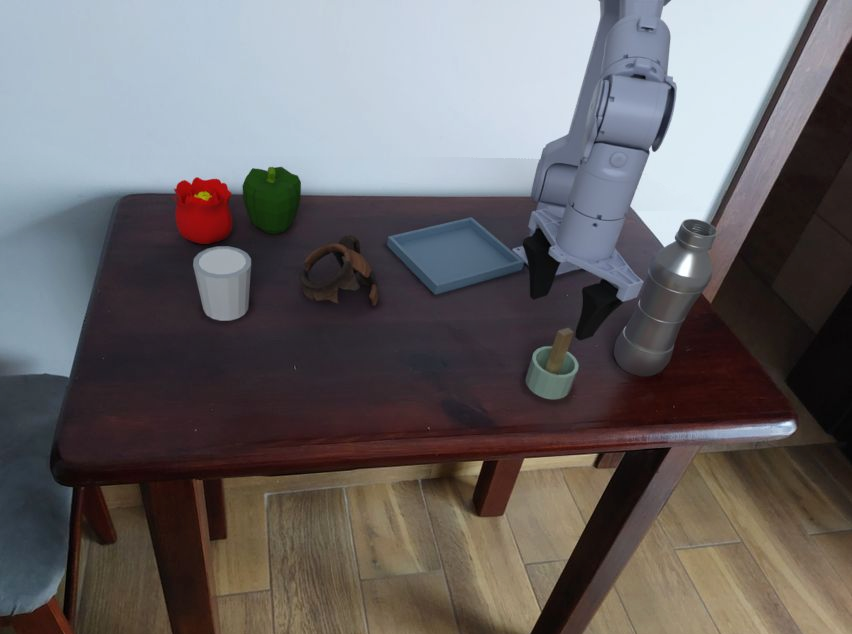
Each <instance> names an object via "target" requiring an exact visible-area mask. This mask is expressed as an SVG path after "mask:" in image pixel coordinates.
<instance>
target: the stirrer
mask: <svg viewBox="0 0 852 634" xmlns="http://www.w3.org/2000/svg"><path fill="white" fill-rule="evenodd" d="M574 333H575V332H574V331H573V330H572V329H571V328H570V327H565V328H562V329H559V330H557V332H556V335H555V338H554V341H553V344H552V346H553V347H552V350H551V353H550V355H549V358H548V361H547V364H546V367H545V370H546V371H547V372H549V373H552V374H557V375H559V372H560V370H561V367H562V364H563V361H564V359H565V356H566V353H567V351H568V350H569V348H570V344H571V342H572V339H573V336H574V335H575V334H574Z"/></svg>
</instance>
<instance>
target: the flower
mask: <svg viewBox="0 0 852 634" xmlns="http://www.w3.org/2000/svg"><path fill="white" fill-rule="evenodd" d="M173 191H174V192H175V195H173V199H174V200H175V203H176V205H175V212H174V213H175V214H174V215H175V221H176V226H177V230H178V232H179V234H180V235H181V236H182V237H183V238H184V239H186V240H187V241H189V242H192V243H195V244H200V245H211V244H214V243H217V242H221V241H224V240H225V239H227V238H228V237H229V236H230V234H231V233H232V230H233V217H232V212H231V209H230V206H229V205H230V199H231V198H232V194H233V193H232V191H230V190H229V188H228V185H227V183H225V182H221V179H218V178H209V179H202V178H200V177H198V176H197V177H194V178H193V179H192V182H190V181H188V180H186V179H183V180H181V181H179V182H178V183H177V184H176V187H175V188H173Z"/></svg>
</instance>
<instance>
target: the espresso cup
mask: <svg viewBox="0 0 852 634" xmlns="http://www.w3.org/2000/svg"><path fill="white" fill-rule="evenodd" d="M552 347H553V345H546V346H545V345H544V346H541V347H538V348H537V349H536V350H535V351H534V352H533V353H532V356H531V358H530V362H529V365H528V367H527V370H526V374H525V379H524V380H525V385H526V386H527V387H528V389H529V390H530V391H531V392H532V393H533V394H535V395H537V396H539V397H541V398H542V399H543V398H544V399H548V400H561V399H563V398H565V397H566V396H568V395H569V393H570V392H571V390H572V387H573V385H574V382H575V379H576V377H577V374H578V371H579V366H580V364H579V362H578V360H577V358H576V357H575V356H574V355H573V354H572V353H571V352H570V351H568V350H567V353H566V356H565V359H564V361H563V364H562V367H561V370H560V372H559V375H557V374H552V373H549V372H547V371H546V370H545V367H546V364H547V361H548V358H549V355H550V353H551V350H552Z"/></svg>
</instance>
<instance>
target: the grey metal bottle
mask: <svg viewBox="0 0 852 634" xmlns="http://www.w3.org/2000/svg"><path fill="white" fill-rule="evenodd" d="M717 235H718V230H717V228H716V227H715V226H714V225H712V224H710V223H709V222H707V221H706V220H705V221H704V220H701V219H696V218H687V219H684V220H683V221H682V222H681V224H680V226H679V228H678V230H677V232H676V233H675V235H674V241H673V242H670V243H669V244H667V245H665V246H664V247H662V248H661V249H659V251H657V253H656V254H654V256H653V257H652V258H651V261H650V263H649V266H648V270H647V275H646V279H645V281H644V287H643V289H642V292H641V294H640V298H639V301H638V303H637V306H636V308H635V310H634V311H633V313H632V315H631V317H630V319H629V320H628V322H627V324H626V325H625V326H624V328H623V329H622V330H621V332H620V333H619V334H618V336H617V338H616V340H615V342H614V348H613V356H614V359H615V362H616V363H617V365H618V366H619V367H620V368H621V369H622V370H623V371H625V372H627V373H629V374H631V375H633V376H638V377H642V378H643V377H644V378H645V377H653V376H655V375H657V374H659V373H661V372H662V371H663V370H664V369H665V368H666V367H667V366H668V364H669V363H670V361H671V359H672V356H673V352H674V347H675V343H676V341H677V338H678V335H679V332H680V330H681V327H682V324H683V323H684V322H685V319H686V317H687V316H688V314H689V313H690V311H691V309H692V307H693V306H694V304H695V303H696V302H697V301H698V299H699V297H700V296H701V295H702V294H703V292H704V291H705V290H706V288H707V287H708V285H709V284H710V282H711V280H712V277H713V271H714V270H713V264H712V259H711V257H710V255H709V252H708V251H711V249H712V248H713V246H714V242H715V240H716V237H717Z"/></svg>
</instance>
